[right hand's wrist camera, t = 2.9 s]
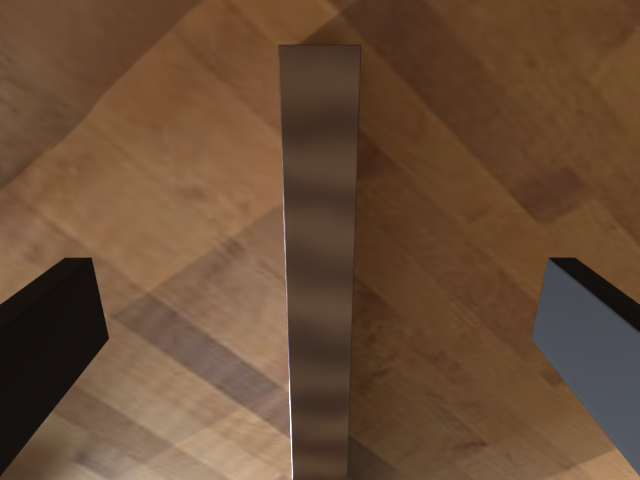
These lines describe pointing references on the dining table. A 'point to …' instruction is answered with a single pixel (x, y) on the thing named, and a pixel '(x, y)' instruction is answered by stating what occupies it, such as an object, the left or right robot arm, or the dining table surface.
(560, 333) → the right robot arm
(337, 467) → the beam
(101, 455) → the dining table surface
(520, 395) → the dining table surface
